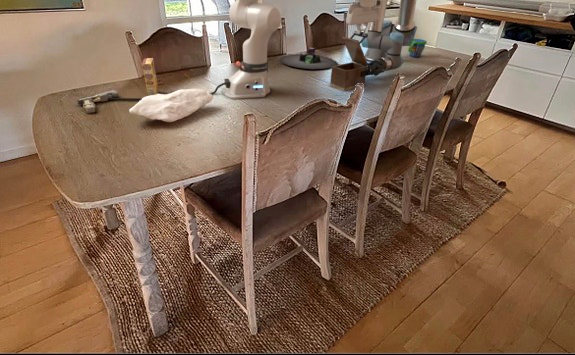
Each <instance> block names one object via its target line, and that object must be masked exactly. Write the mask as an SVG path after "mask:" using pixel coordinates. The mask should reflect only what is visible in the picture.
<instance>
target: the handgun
mask: <svg viewBox="0 0 575 355" xmlns="http://www.w3.org/2000/svg"><path fill="white" fill-rule="evenodd" d="M119 96H120V94H119V92H118V91H117V90H116V89H112V90H108V91H105V92H104V91H103V92H101V93H96V94H94V95H86V94H85V95H84V94H83V95H81V96H80V97H77V98H76V101H77V104H78V105H82V108H83V109H84V110H85V113H87V114H91V113H95V112H96V104H95V103H98V102H106V101H109V100H108V98H119Z"/></svg>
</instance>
